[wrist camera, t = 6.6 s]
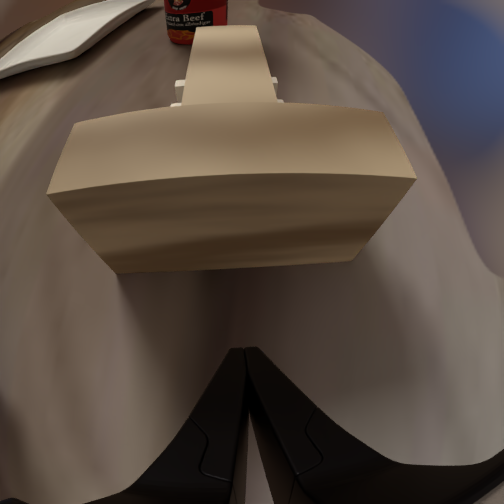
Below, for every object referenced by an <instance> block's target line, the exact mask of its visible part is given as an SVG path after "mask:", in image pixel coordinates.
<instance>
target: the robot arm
mask: <svg viewBox="0 0 504 504" xmlns="http://www.w3.org/2000/svg"><path fill="white" fill-rule="evenodd" d="M249 413H250V418H251V422H252V426H253V430H254V433H255V437H256V441H257V445H258V448H259V452H260V456H261V459H262V463H263V467H264V470H265V474H266V477H267V481H268V484H269V488H270V491H271V495H272V498H273V501H274V504H504V449H503V450H502V451H500V452H499V453H498V454H496V455H495V456H493V457H492V458H490V459H488V460H486V461H484V462H481V463H477V464H473V465H461V466H433V465H412V464H403V463H399V462H396V461H393V460H391V459H388V458H386V457H385V456H383V455H381V454H380V453H378V452H377V451H375V450H374V449H372V448H370V447H369V446H367V445H366V444H364V443H363V442H361V441H360V440H358V439H357V438H355V437H354V436H352V435H351V434H350V433H348V432H347V431H345V430H344V429H343V428H341V427H340V426H339V425H337V424H336V423H335V422H334V421H333V420H332V419H330V418H329V417H328V416H327V415H326V414H325V413H324V412H323V411H322V410H321V409H320V408H318V407H317V406H316V405H315V404H314V403H313V402H312V401H311V400H310V399H309V398H308V397H307V396H306V395H305V394H304V393H303V392H302V391H301V390H300V389H299V388H298V387H297V386H296V385H295V384H294V383H293V382H292V381H291V380H290V379H289V378H288V377H287V376H286V375H285V374H284V373H283V372H282V371H281V370H280V369H279V368H278V367H277V366H276V365H275V364H274V363H273V362H272V361H271V360H270V359H269V358H268V357H267V356H266V355H265V354H264V353H263V352H262V351H261V350H260V349H259V348H258V347H245V348H244V349H243V348H231V349H230V350H229V351H228V353H227V355H226V356H225V358H224V360H223V361H222V363H221V365H220V366H219V368H218V370H217V371H216V373H215V374H214V376H213V378H212V379H211V381H210V383H209V384H208V386H207V388H206V389H205V391H204V392H203V394H202V396H201V397H200V399H199V401H198V402H197V404H196V405H195V407H194V409H193V410H192V412H191V413H190V415H189V418H187V420H186V421H185V423H184V424H183V426H182V427H181V429H180V430H179V432H178V433H177V435H176V436H175V438H174V439H173V440H172V441H171V443H170V444H169V445H168V446H167V447H166V449H165V450H164V451H163V452H162V453H161V454H160V456H159V457H158V458H157V459H156V460H155V461H154V462H153V463H152V464H151V465H150V466H149V468H148V469H147V470H146V471H145V472H144V473H143V474H142V475H141V476H140V477H139V478H138V479H137V480H136V481H135V482H134V483H133V484H132V485H131V486H129V487H128V488H126V489H125V490H123V491H121V492H119V493H117V494H114V495H111V496H108V497H104V498H101V499H98V500H95V501H91V502H88V503H84V504H245V494H246V472H247V451H248V428H249ZM0 504H28V503H26V502H24V501H21V500H19V499H16V498H8V499H5V500H1V501H0Z"/></svg>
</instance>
